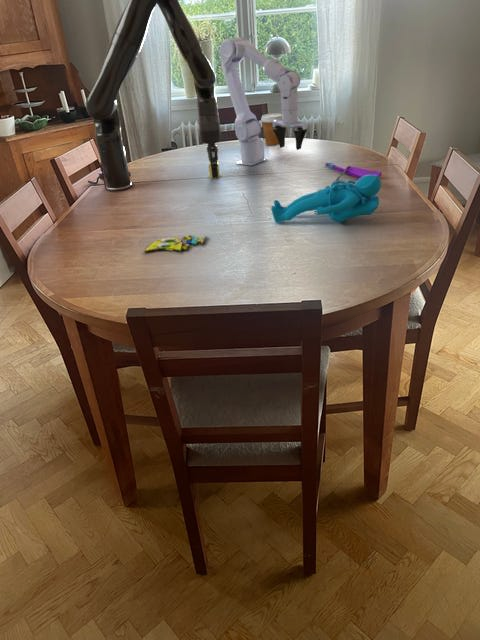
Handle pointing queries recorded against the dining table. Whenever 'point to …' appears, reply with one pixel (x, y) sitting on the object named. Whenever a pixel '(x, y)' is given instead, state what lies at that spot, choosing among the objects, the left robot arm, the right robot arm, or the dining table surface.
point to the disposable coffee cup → (270, 127)
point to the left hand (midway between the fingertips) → (214, 175)
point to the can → (211, 171)
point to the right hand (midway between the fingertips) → (290, 148)
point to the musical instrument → (353, 171)
